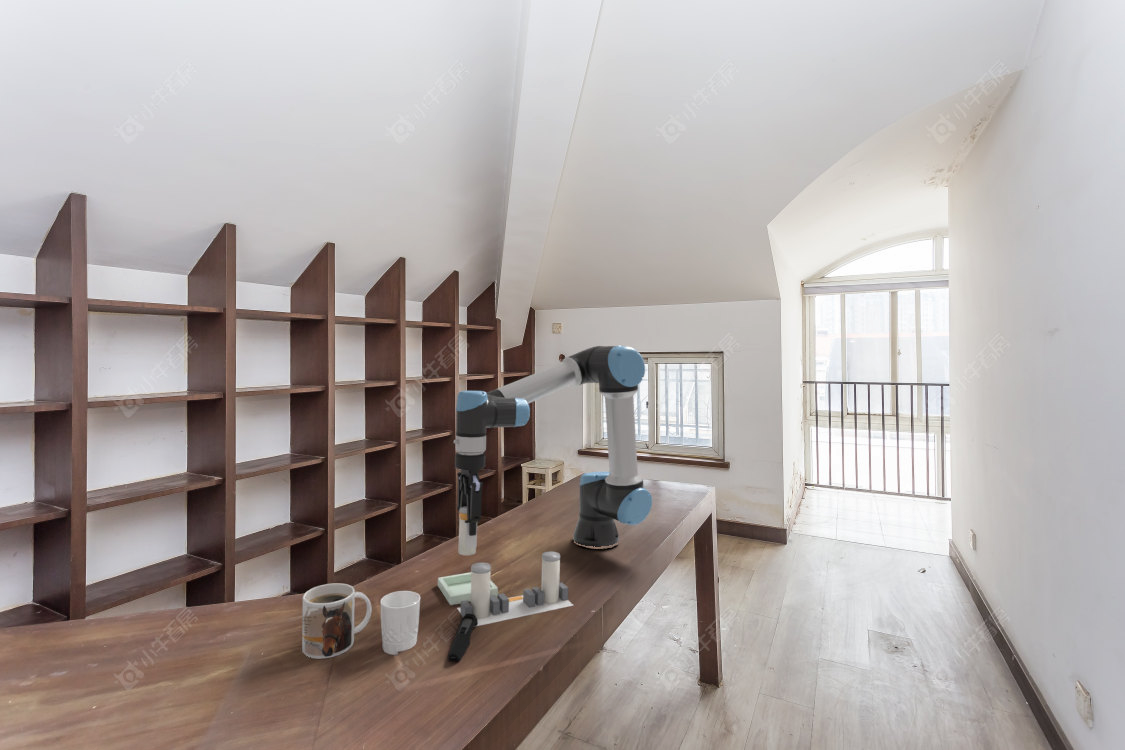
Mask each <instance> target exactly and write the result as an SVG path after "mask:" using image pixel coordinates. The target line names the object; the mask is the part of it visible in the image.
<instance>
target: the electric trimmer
mask: <svg viewBox="0 0 1125 750" xmlns="http://www.w3.org/2000/svg"><path fill="white" fill-rule="evenodd" d="M477 621H478V620H477V618H476V616H475V615H473V614H466V615H465V616H464V617H462V618H461V619H460V622H459V625H458V628H457V631H456V634H455V636H454V638H453V641H452V644H451V646H450V649H449V653H448V656H447V660H448V661H449V662H460V661H461V660H462V658H463V656H464V655H465V654H466V652H467V650H468V648H469V646H470V644H471V636H472V632H473V629H474V628H475V627H474V626H476V627H478V626H477V624H478V622H477Z"/></svg>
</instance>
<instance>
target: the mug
mask: <svg viewBox="0 0 1125 750" xmlns="http://www.w3.org/2000/svg"><path fill="white" fill-rule="evenodd" d="M355 599H362V600H363V601H365V604H366V614H365V616H364V618H363V620H362V621H361V622H360V623H359V624H358V625H357V626H355V603H356V602H355ZM301 613H302V614H301V615H302V623H301V626H302V628H301V629H302V630H301V636H302V637H301V641H302V642H301V651H302V654H303V653H304V654H305V655H306V656H305V655H304V654H303V655H304V656H305V657H307V656H308V657H307V658H310V657H311V658H310V659H318V660H319V659H320V660H322V659H329V658H335V657H336V656H337V657H338V656H340V655H342V654H343V653H345V652H347V651H349V650H350V649H351V648H352V647H353V645H354V642H355V634H357V633H359V632H361V631H363V629H364V628H366V626H367V625H368V623H369V622H370V620H371V615H372V603H371V601H370V599H369V597H368V596H367V595H366V594H365V593H364V592H360V591H355V587H353V585H350V584H347V583H340V582H338V583H337V582H335V583H333V582H332V583H326V584H322V585H317V586H314V587H312V588H310V589H309V590H307V591H306V592H305V593H304V594H303V596H302V612H301Z"/></svg>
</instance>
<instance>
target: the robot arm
mask: <svg viewBox="0 0 1125 750" xmlns="http://www.w3.org/2000/svg"><path fill="white" fill-rule="evenodd" d="M645 374H646V366H645V361H644V359H643V357H642V355H641V353H640V352H638V350H637V349H635V348H633V347H632V346H631V347H630V346H625V345H610V346H609V345H603V346H602V345H596V346H592V347H589V348H586V349H583V350H581V351H579V352H577V353H574V354H571V355H569V356H566V357H565V358H563V359H562V361H561V362H560V363H558V364H555V365H553V366H550V367H548V368H545V369H543V370H541V371H537V372H536V373H533V374H530V375H528V376H525V377H523V378H521V379H518V380H516V381H513V382H510V383H508V384H505V385H503V386H501V387H498V388H496V389H494V390H493V389H492V390H490V391H488V392H486V391H483V390H461V391H459V392H458V394H457V398H456V407H455V411H456V412H455V418H456V419H455V439H454V440H453V444H455V451H456V453H455V455H454V466H455V467H454V468H456V469H457V470H461V471H460V472H457V475H456V476H457V504H456V505H457V506H456V507H457V508H456V510H457V511H458V514H459V515H460V507H463V506H467V520H465V523H466V535H465V548H466V549H467V548H474V547H476V548H477V543H478V539H477V538H478V522H481V520H482V498H483V497H482V496H483V493H482V492H483V486H484V483H483V481H480V475H479V471H480V470H482V469H484V468H485V467H486V453H485V452H486V449H487V428H488V429H491V428H516V427H523V426H526V424H527V423H528V422H529V420H530V417H531V416H530V415H531V414H530V413H531V408H530V404H531V403H533V402H536V401H538V400H540V399H542V398H545V397H547V396H549V395H551V394H554V393H556V392H559V391H561V390H564V389H566V388H568V387H570V386H572V387H574V388H575V387H576V388H577V387H578V386H581V385H585V384H598V389H599V393H600V394H601V395H602V396H603V398H604V404H605V420H606V435H607V436H606V438H607V439H606V440H607V452H608V455H607V456H608V469H609V471H592V472H585V473H583V474H581V476H580V478H579V481H580V482H579V485H578V486H579V503H578V506H579V508H578V509H579V511H578V519H577V523H576V525H575V527H574V528H575V529H574V532H573V535H572V541H573V540H574V541H575V542H576V543H578V544H581V545H585V546H593V547H594V546H595V547H601V546H609V545H613V544H615V543H617V542H618V541H619V542H620V536H619V532H618V527H617V525H616V521H618V522H620V523H622V524H623V525H624V524H625V525H629V526H636V525H639V524H641V523H642V522H644V521H645V520H646V519H647V517H648V515H649V514H650V512H651V510H652V506H653V496H652V494H651V493H650V491H649V490H648V489H646V488H645V487H644V478H643V476H642V475H641V474H640V473H639V471H638V459H637V458H638V457H637V452H638V451H637V439H636V421H635V420H636V419H635V418H636V417H635V403H634V402H635V401H634V395H636V394H637V392H638V391H639V385H640V384H641V382H642V381H643V378H644V377H645Z"/></svg>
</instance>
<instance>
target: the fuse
mask: <svg viewBox="0 0 1125 750" xmlns="http://www.w3.org/2000/svg"><path fill="white" fill-rule="evenodd" d="M470 570H471V571H470V572H471V602H470V605H471V606H472V614H473V615H475V616H476V618H477V619H481V618H486V617H488V616H489V614H490V580H491V571H492V565H491V564H490V563H488V562H475V563H473V564H472V565H471V567H470Z"/></svg>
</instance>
